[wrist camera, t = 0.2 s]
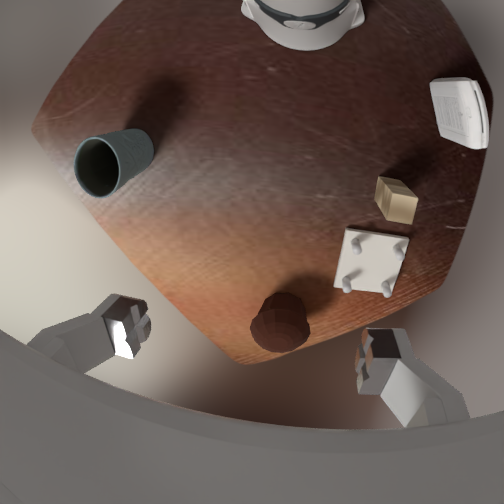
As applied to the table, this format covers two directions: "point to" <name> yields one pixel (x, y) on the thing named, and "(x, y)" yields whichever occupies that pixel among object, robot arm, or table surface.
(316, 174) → the table surface
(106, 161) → the teal cup
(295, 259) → the table surface
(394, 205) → the block
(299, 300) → the muffin
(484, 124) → the photo printer
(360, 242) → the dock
